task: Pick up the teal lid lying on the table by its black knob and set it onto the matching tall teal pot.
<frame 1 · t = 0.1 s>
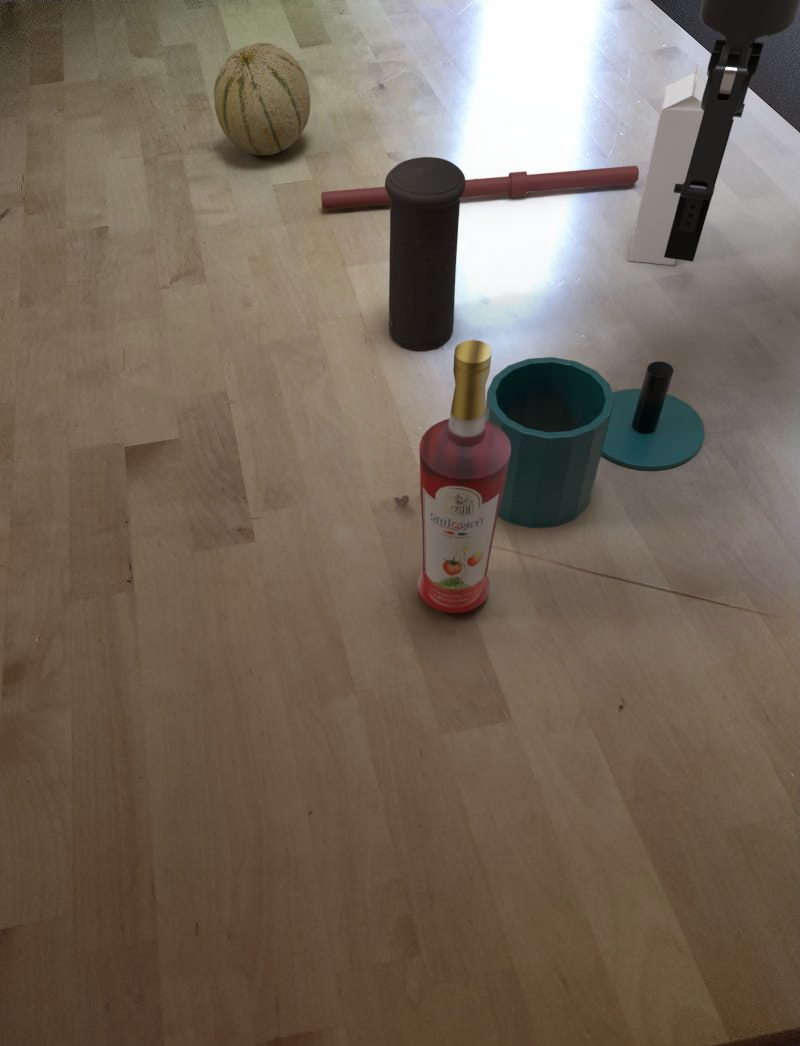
hand: (690, 220, 89), 19 cm above the table, tool pointing down, fingers open, 13 cm apart
container: (421, 331, 112), on the table
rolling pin: (477, 199, 129), on the table
teal pot: (533, 490, 95), on the table
teal lid: (642, 430, 98), point 1 cm above the table
liquor: (452, 594, 87), on the table
cantaloupe: (267, 150, 142), on the table
milk: (652, 252, 119), on the table
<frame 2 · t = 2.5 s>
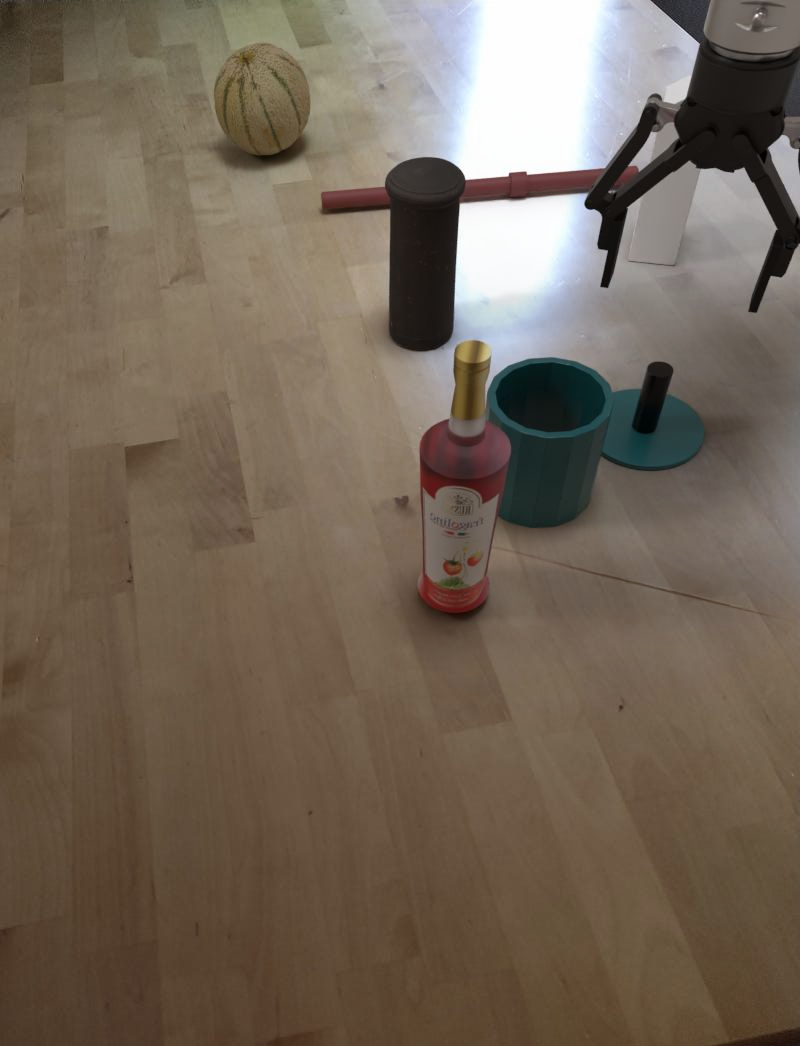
hand: (678, 292, 85), 17 cm above the table, tool pointing down, fingers open, 13 cm apart
nothing on the table moved.
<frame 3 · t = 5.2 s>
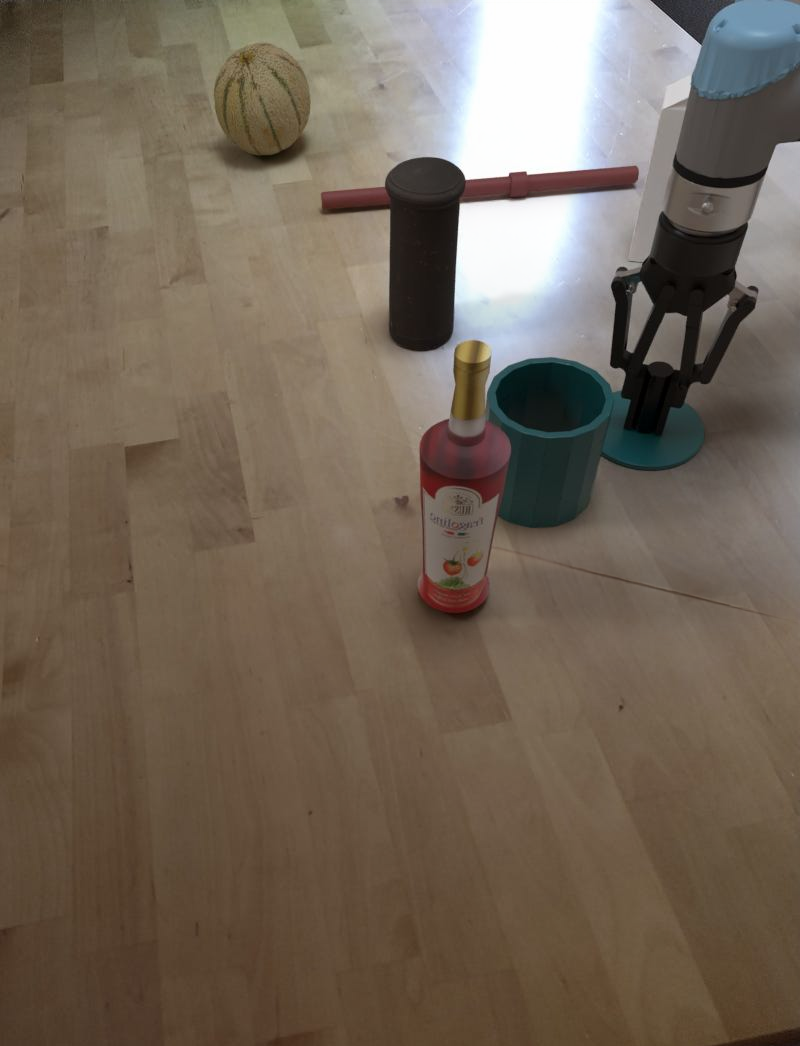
hand: (644, 423, 97), 2 cm above the table, tool pointing down, fingers closed on teal lid, 3 cm apart
teal lid: (642, 430, 98), point 1 cm above the table, touching gripper
everything else where it was.
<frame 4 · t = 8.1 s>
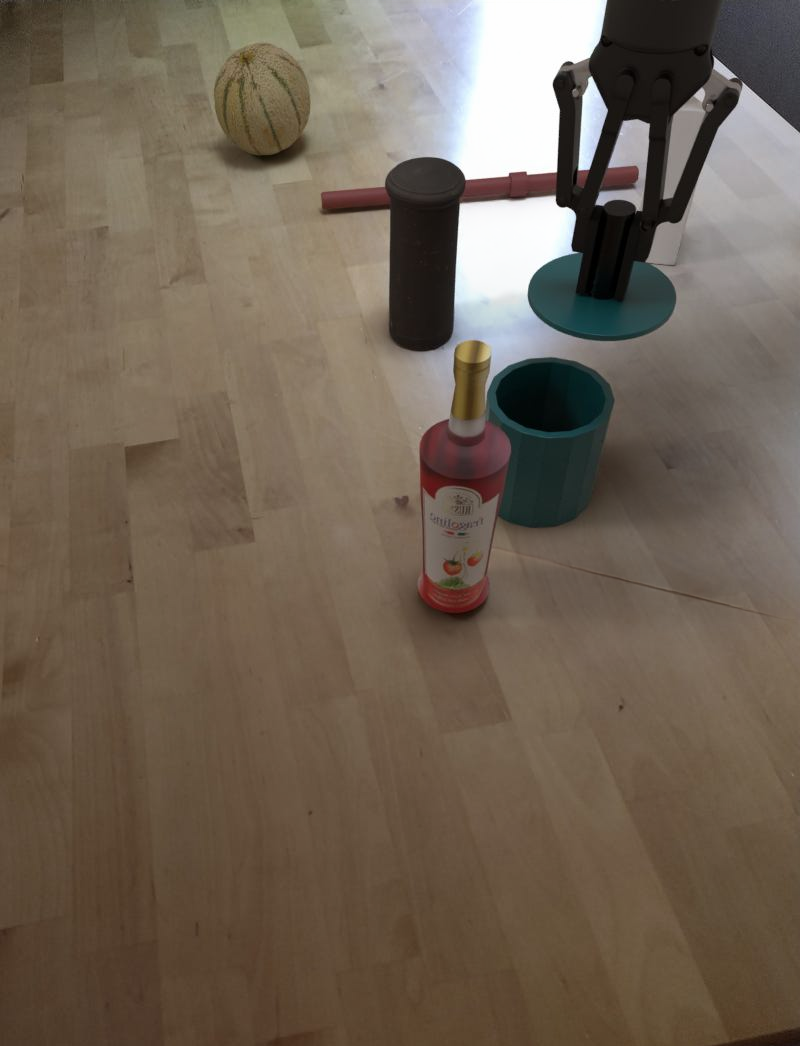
hand: (602, 288, 78), 22 cm above the table, tool pointing down, fingers closed on teal lid, 3 cm apart
teal lid: (600, 297, 79), point 21 cm above the table, touching gripper
everything else where it was.
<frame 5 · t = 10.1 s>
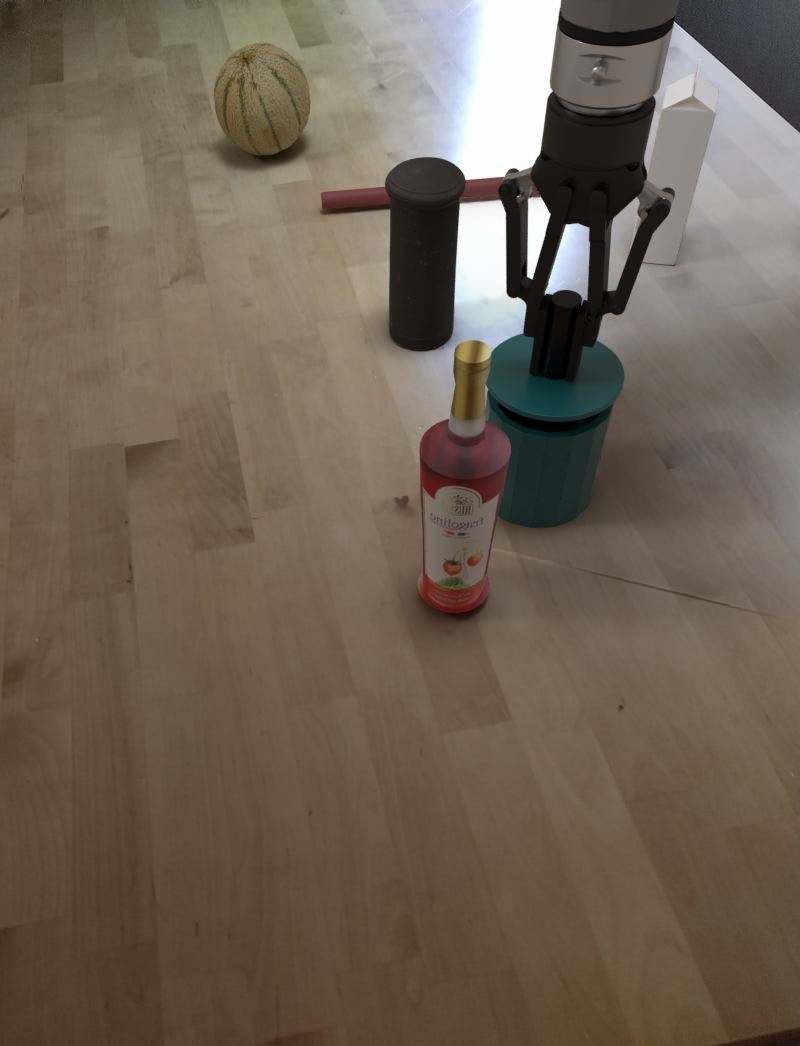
hand: (554, 368, 82), 16 cm above the table, tool pointing down, fingers closed on teal lid, 3 cm apart
teal lid: (552, 376, 83), point 15 cm above the table, touching gripper
everything else where it was.
when the fingers open (13 cm above the table, at t = 11.0 s): teal lid stays where it is, resting on teal pot.
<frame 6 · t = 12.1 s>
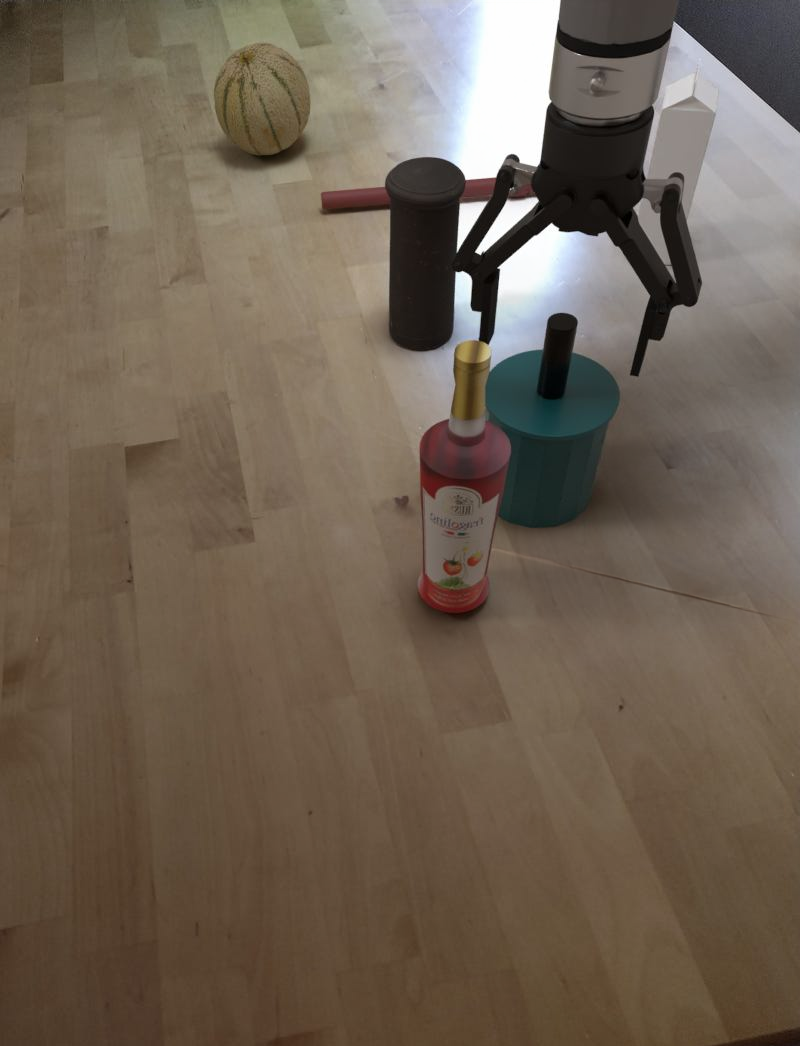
hand: (559, 353, 81), 17 cm above the table, tool pointing down, fingers open, 13 cm apart
teal lid: (549, 395, 85), point 12 cm above the table, touching teal pot
everything else where it was.
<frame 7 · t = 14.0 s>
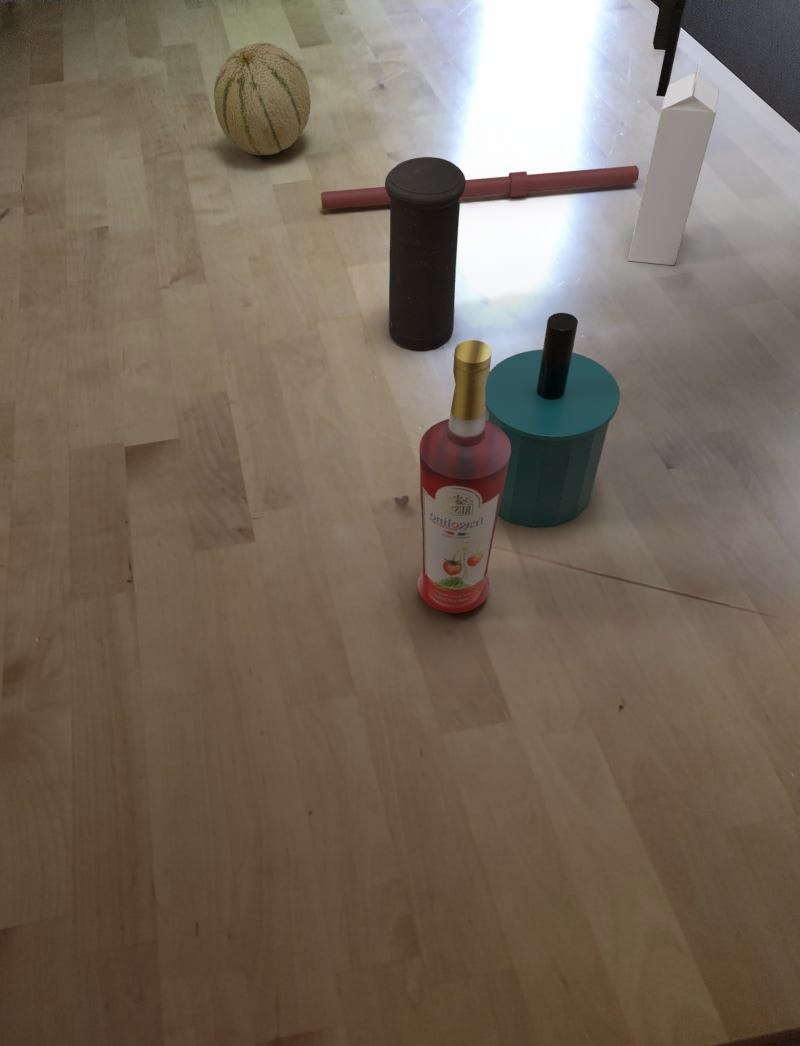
hand: (744, 95, 77), 31 cm above the table, tool pointing down, fingers open, 13 cm apart
nothing on the table moved.
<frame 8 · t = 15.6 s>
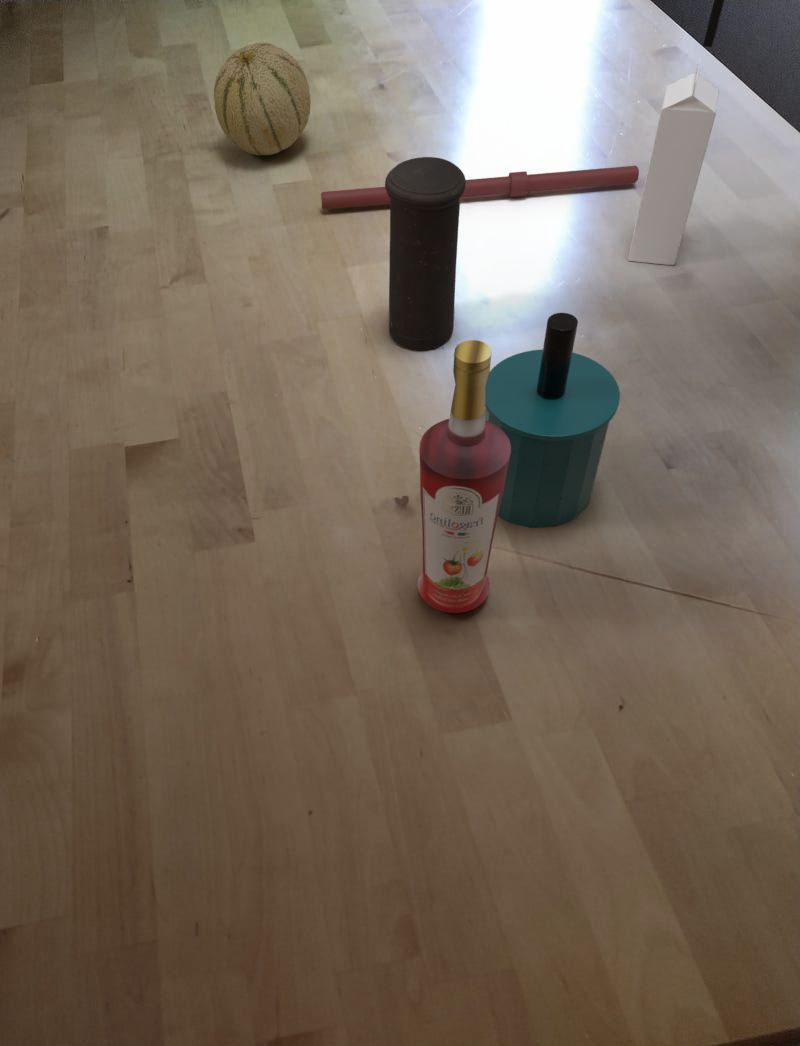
hand: (789, 47, 79), 33 cm above the table, tool pointing down, fingers open, 13 cm apart
nothing on the table moved.
at the end: teal lid 0.0 cm off-centre on the teal pot, point 12.5 cm above the teal pot's base; teal lid tilted 0° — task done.
